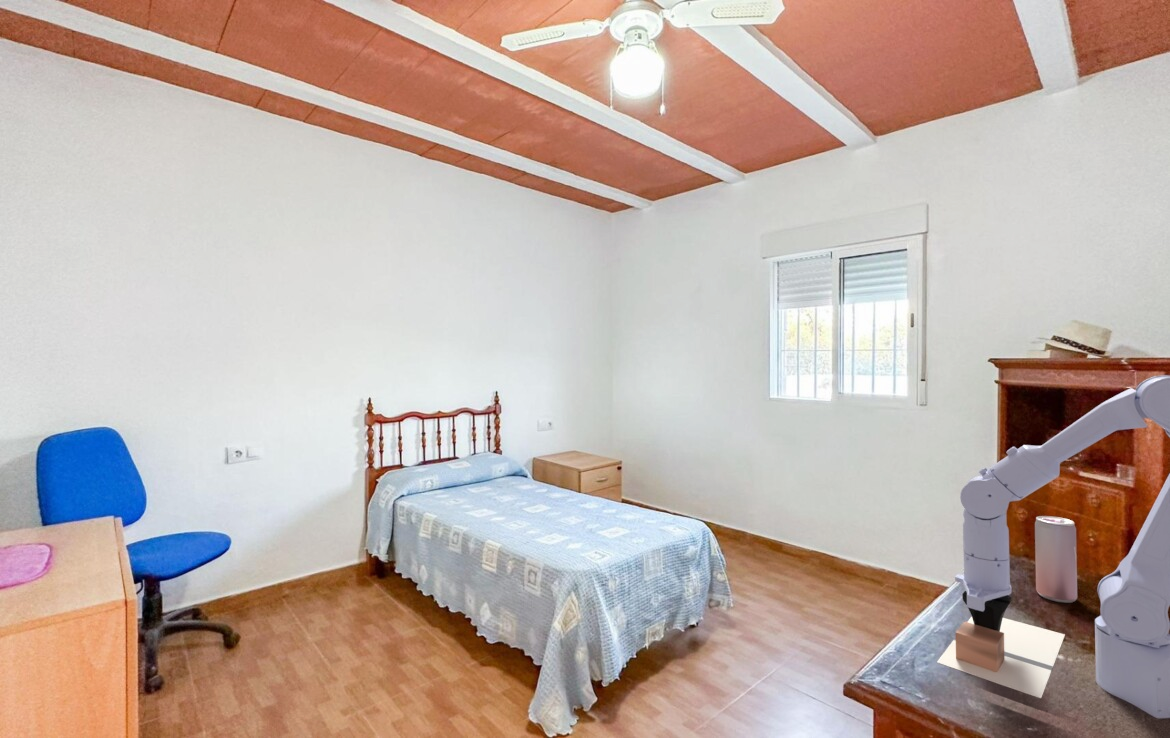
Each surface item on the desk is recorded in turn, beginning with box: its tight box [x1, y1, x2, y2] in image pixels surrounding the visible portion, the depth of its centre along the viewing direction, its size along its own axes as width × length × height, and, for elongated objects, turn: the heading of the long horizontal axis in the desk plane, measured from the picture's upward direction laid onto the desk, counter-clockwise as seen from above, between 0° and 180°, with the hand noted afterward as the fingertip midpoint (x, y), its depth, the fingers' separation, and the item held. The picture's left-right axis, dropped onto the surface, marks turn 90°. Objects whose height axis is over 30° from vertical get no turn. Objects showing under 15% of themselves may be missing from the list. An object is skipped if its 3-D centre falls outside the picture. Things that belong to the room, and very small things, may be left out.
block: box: [955, 621, 1004, 672], centre depth 80 cm, size 5×5×4 cm
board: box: [936, 615, 1066, 699], centre depth 83 cm, size 24×12×1 cm, turn 132°
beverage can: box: [1034, 515, 1078, 604], centre depth 102 cm, size 6×6×15 cm
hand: (987, 641), depth 82 cm, fingers closed
